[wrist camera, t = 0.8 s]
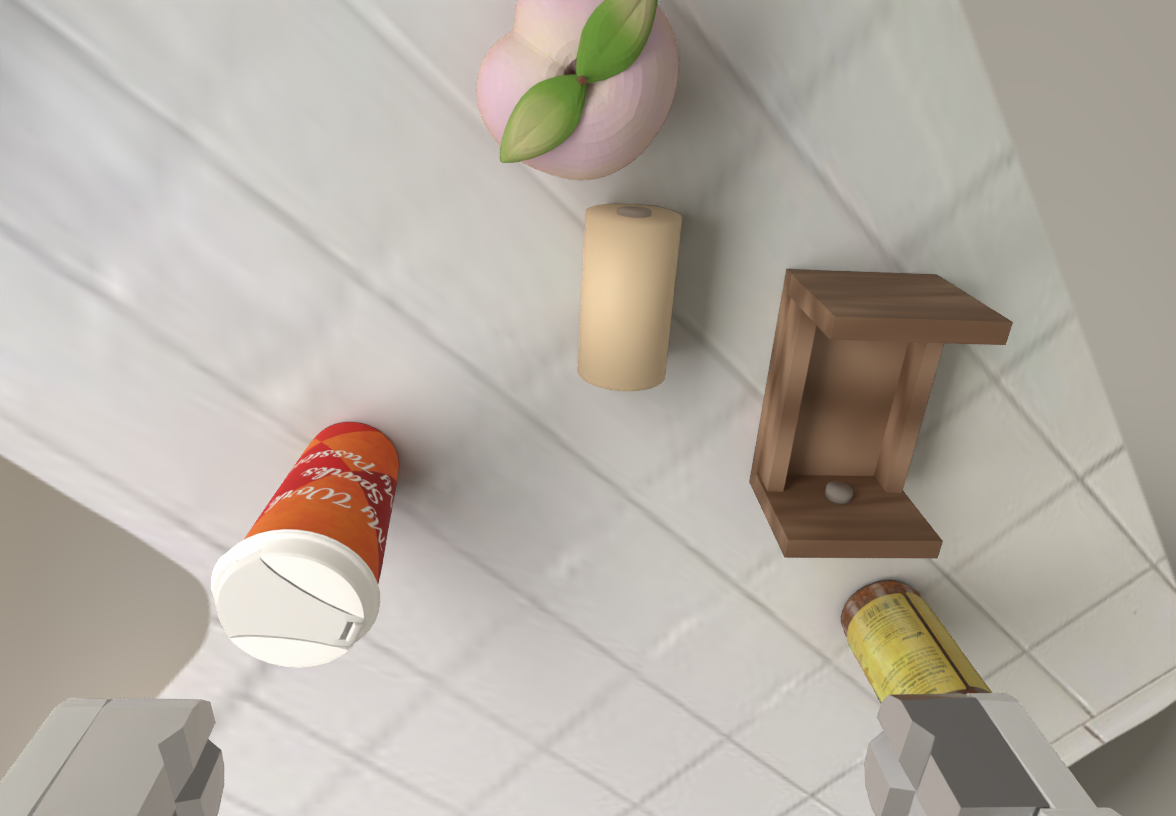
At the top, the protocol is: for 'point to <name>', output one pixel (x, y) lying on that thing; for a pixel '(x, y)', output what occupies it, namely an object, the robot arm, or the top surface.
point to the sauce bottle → (905, 644)
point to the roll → (627, 295)
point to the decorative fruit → (579, 85)
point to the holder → (855, 408)
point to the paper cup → (313, 553)
